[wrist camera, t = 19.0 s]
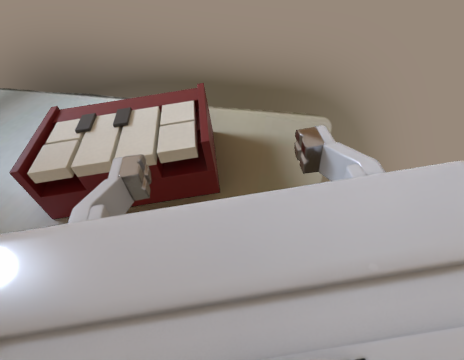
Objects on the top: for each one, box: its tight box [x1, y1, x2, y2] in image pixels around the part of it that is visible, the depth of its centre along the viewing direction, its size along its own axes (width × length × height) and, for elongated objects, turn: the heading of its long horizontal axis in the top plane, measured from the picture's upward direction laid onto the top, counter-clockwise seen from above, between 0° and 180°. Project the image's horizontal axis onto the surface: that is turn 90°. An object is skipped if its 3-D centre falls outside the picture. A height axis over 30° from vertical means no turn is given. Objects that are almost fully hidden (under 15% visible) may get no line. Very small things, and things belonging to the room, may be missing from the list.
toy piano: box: [9, 83, 220, 219], centre depth 34 cm, size 19×12×7 cm, turn 97°
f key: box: [157, 121, 198, 163], centre depth 29 cm, size 4×4×1 cm
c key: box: [27, 140, 80, 183], centre depth 29 cm, size 4×4×1 cm
